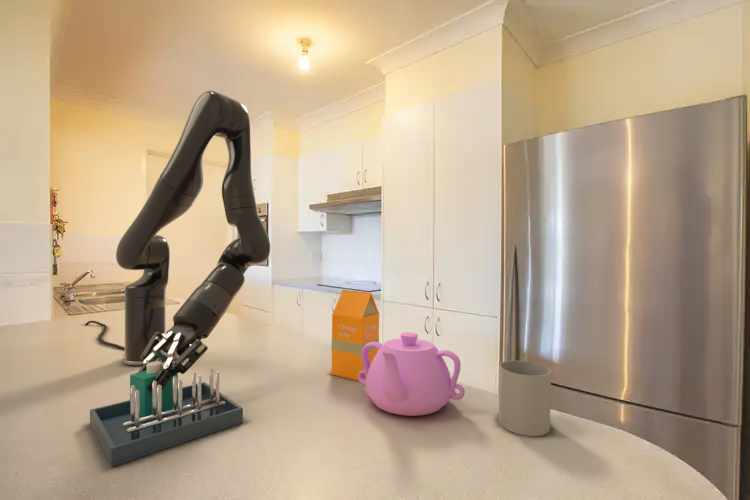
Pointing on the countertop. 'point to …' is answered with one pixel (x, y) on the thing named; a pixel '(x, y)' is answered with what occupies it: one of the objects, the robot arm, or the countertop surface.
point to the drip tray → (123, 449)
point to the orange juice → (353, 332)
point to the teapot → (409, 376)
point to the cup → (524, 397)
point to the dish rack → (157, 406)
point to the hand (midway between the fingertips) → (143, 388)
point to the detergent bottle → (146, 396)
